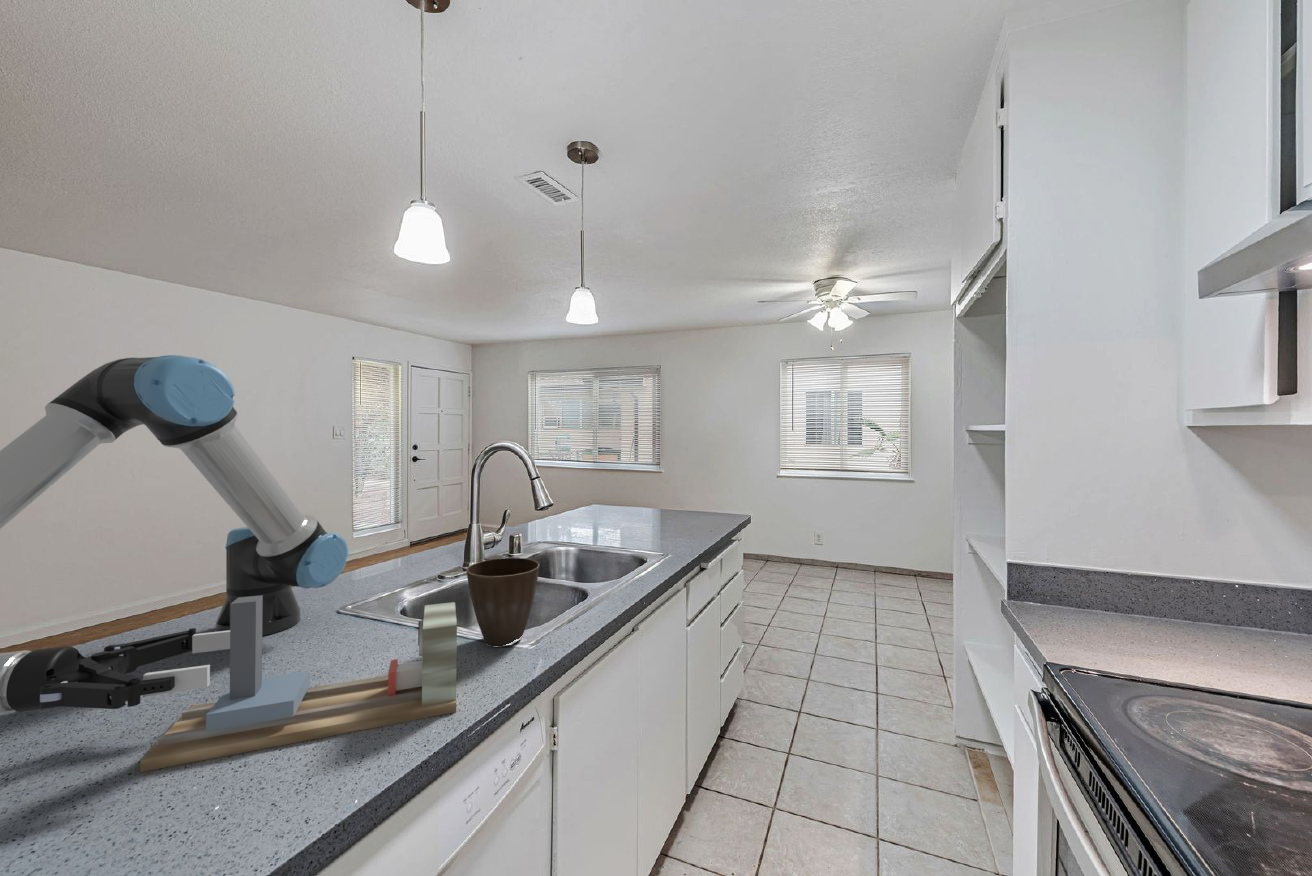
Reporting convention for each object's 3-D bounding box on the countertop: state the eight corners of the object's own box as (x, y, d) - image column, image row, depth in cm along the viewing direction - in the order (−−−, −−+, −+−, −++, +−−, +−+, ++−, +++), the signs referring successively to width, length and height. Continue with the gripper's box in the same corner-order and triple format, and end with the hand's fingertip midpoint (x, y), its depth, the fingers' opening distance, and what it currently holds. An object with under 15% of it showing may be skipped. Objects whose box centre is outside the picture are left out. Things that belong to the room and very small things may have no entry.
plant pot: (492, 662, 97) (493, 580, 97) (451, 642, 107) (452, 567, 107) (552, 639, 109) (553, 565, 109) (511, 622, 118) (512, 554, 118)
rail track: (189, 716, 78) (190, 629, 78) (454, 673, 93) (454, 600, 93) (140, 772, 65) (141, 668, 65) (456, 712, 80) (457, 627, 80)
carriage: (233, 696, 78) (234, 591, 78) (309, 685, 82) (310, 585, 82) (206, 732, 69) (207, 613, 69) (293, 716, 73) (294, 604, 73)
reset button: (391, 683, 85) (391, 659, 85) (436, 676, 88) (436, 653, 87) (388, 698, 80) (388, 673, 80) (436, 689, 83) (436, 665, 83)
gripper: (87, 668, 77) (257, 647, 85) (-65, 768, 54) (188, 726, 62) (87, 619, 77) (258, 603, 85) (-65, 699, 54) (188, 666, 62)
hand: (229, 655), depth 74 cm, fingers open, 13 cm apart
